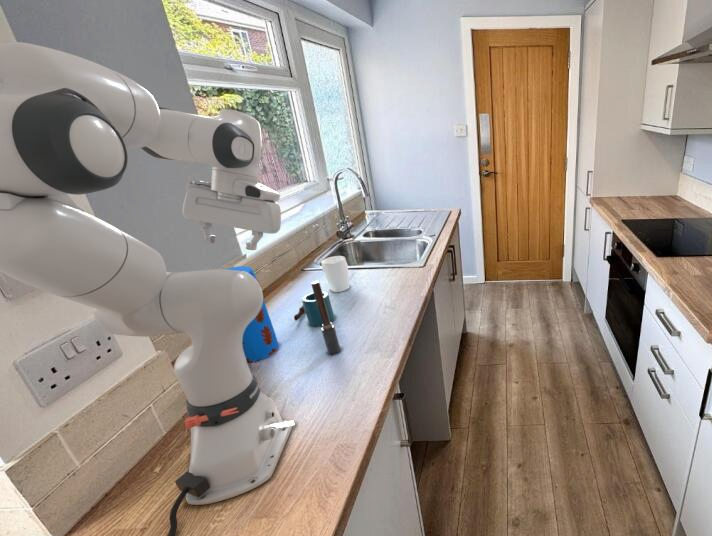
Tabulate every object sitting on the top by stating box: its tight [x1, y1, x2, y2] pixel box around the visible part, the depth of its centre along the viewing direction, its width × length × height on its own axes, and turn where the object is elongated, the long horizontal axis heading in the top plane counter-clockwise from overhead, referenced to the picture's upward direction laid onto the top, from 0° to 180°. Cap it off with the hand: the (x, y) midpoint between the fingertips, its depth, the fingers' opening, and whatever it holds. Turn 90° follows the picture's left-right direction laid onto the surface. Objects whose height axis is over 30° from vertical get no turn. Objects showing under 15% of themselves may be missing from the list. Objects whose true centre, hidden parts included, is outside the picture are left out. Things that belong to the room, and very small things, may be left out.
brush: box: [310, 280, 341, 355], centre depth 112 cm, size 3×3×22 cm
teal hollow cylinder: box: [301, 290, 335, 327], centre depth 133 cm, size 8×8×9 cm
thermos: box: [226, 265, 279, 363], centre depth 114 cm, size 11×11×25 cm
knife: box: [293, 304, 306, 322], centre depth 140 cm, size 18×2×3 cm, turn 11°
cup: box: [320, 255, 350, 293], centre depth 155 cm, size 9×9×12 cm
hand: (230, 246), depth 94 cm, fingers open, 8 cm apart
